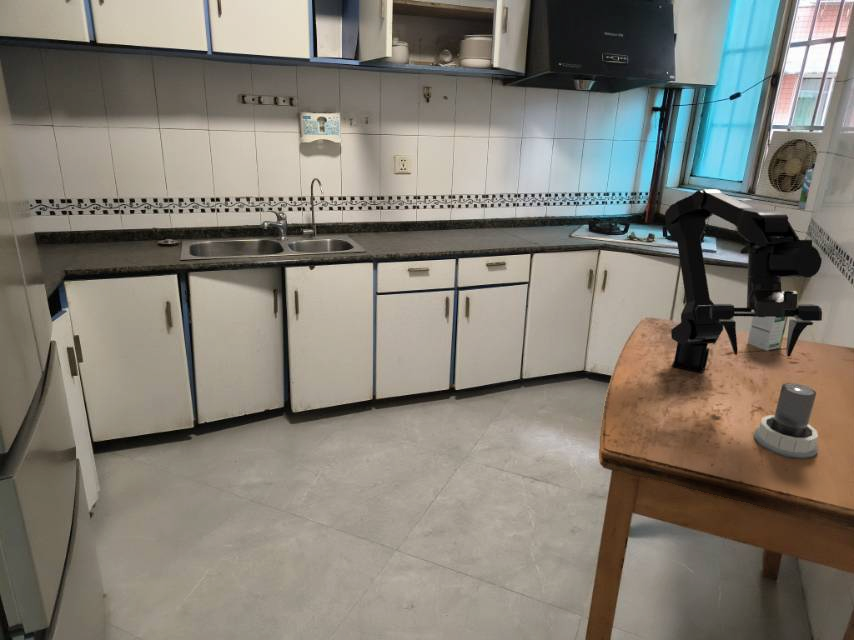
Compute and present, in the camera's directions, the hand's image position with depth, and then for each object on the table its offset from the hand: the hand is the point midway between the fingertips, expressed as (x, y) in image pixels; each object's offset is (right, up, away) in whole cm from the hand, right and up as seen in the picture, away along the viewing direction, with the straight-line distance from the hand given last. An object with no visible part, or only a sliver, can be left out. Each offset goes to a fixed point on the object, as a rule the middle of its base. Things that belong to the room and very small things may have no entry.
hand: (761, 355), depth 117 cm
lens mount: (-1, -15, -9) cm, 18 cm away
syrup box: (+21, 0, +36) cm, 42 cm away
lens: (-1, -15, -10) cm, 18 cm away
